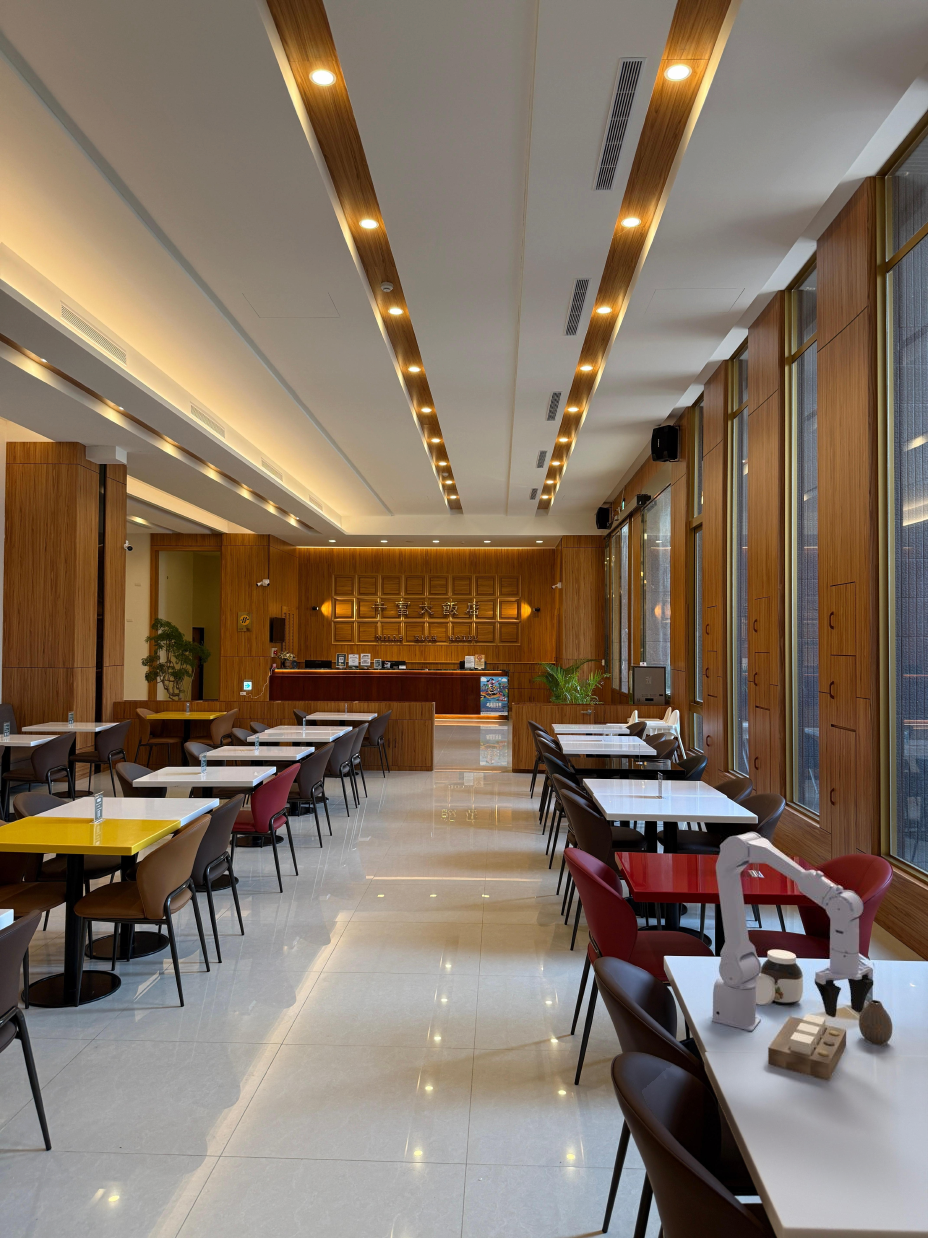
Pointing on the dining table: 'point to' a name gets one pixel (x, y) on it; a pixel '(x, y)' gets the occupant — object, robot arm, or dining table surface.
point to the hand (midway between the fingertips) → (843, 1013)
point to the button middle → (810, 1031)
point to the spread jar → (779, 980)
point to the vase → (875, 1023)
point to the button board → (805, 1064)
